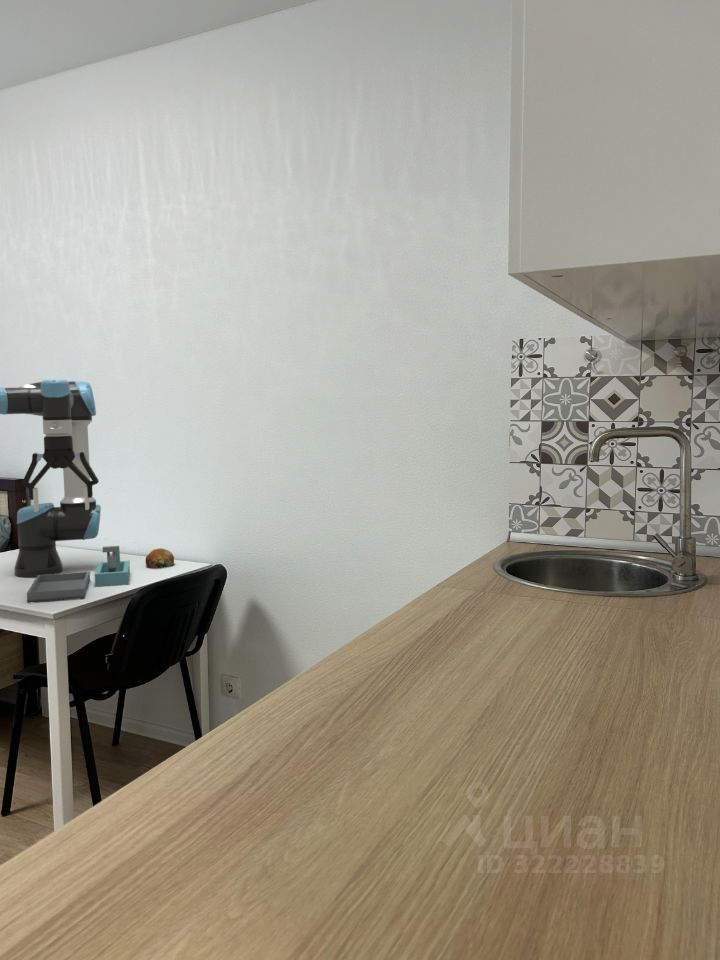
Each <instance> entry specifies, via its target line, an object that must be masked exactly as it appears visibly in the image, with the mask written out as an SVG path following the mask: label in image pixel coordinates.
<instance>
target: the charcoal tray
mask: <svg viewBox="0 0 720 960" xmlns="http://www.w3.org/2000/svg"><path fill="white" fill-rule="evenodd" d="M90 575H91V572H90V571H78V572H65V573H63V572H62V573H56V574H47V575H38V576H37V577H35V579H34V581H33V583H32V584H31V586H30V587H29V589H28V590H27V592H26V602H34V603H43V602H44V603H45V602H47V603H48V602H56V601H57V602H58V601H59V602H60V601H71V600H84V599H85V598H86V594H87V592H88V588H89V586H90V582H91V576H90Z"/></svg>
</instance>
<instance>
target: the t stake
mask: <svg viewBox="0 0 720 960" xmlns="http://www.w3.org/2000/svg"><path fill="white" fill-rule="evenodd" d="M119 550H120V545H111V546H110V545H109V546H108V545H107V546H102V553H106V557H107V556H108V572H116V559H115V552H119Z"/></svg>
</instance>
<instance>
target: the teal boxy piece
mask: <svg viewBox="0 0 720 960" xmlns="http://www.w3.org/2000/svg"><path fill="white" fill-rule="evenodd" d="M120 554H121V552H120V549H119V552H115V559H116V572H108V556H107V555H106V560H107V561H103V562H102V561H101V562H98V563H97V566H96V569H95V572H94V584H95V585H94V587H95V588H97V587H99V588H100V587H111V586H123V585H124V586H125V585H129V583H130V575H131V567H130V560H121V555H120Z"/></svg>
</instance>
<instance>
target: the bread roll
mask: <svg viewBox="0 0 720 960" xmlns="http://www.w3.org/2000/svg"><path fill="white" fill-rule="evenodd" d="M174 563H175V556H174V554H173V553H172V552H171V551H170V550H168V549H166V548H163V547H162V548H161V547H160V548H156V549H155V548H154V549H153V550H150V552H149V553H148V554H147V555H146V556H145V566H146V568H148V569H164V567H166V568H169V566H170V567H173V565H175V564H174Z"/></svg>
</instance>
